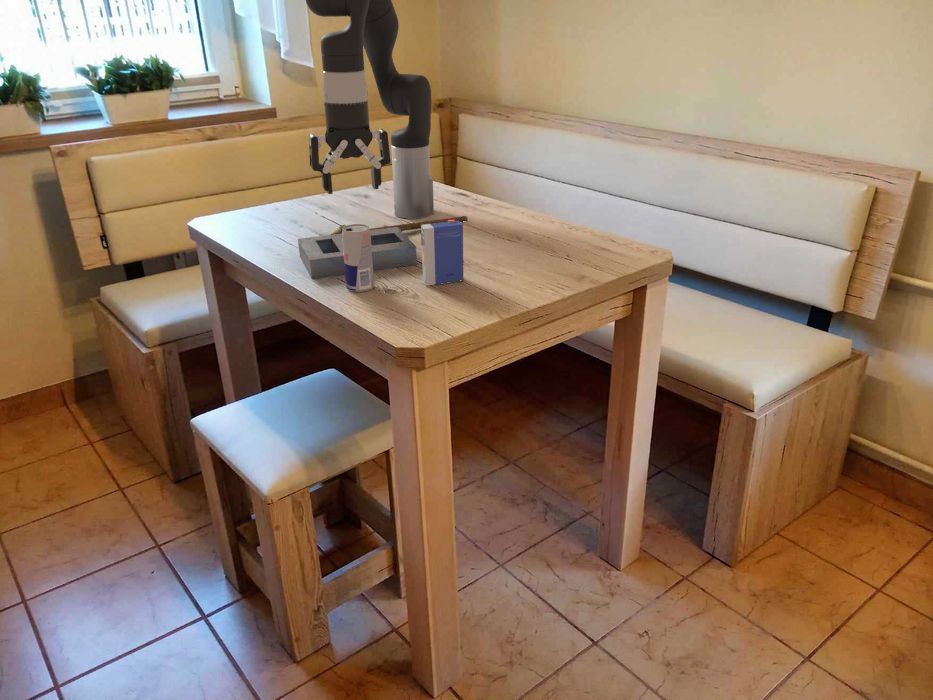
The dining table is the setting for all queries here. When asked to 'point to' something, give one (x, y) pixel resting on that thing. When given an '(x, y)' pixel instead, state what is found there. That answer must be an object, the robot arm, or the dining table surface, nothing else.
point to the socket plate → (328, 255)
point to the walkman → (442, 252)
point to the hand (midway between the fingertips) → (352, 190)
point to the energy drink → (358, 257)
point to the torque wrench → (410, 224)
